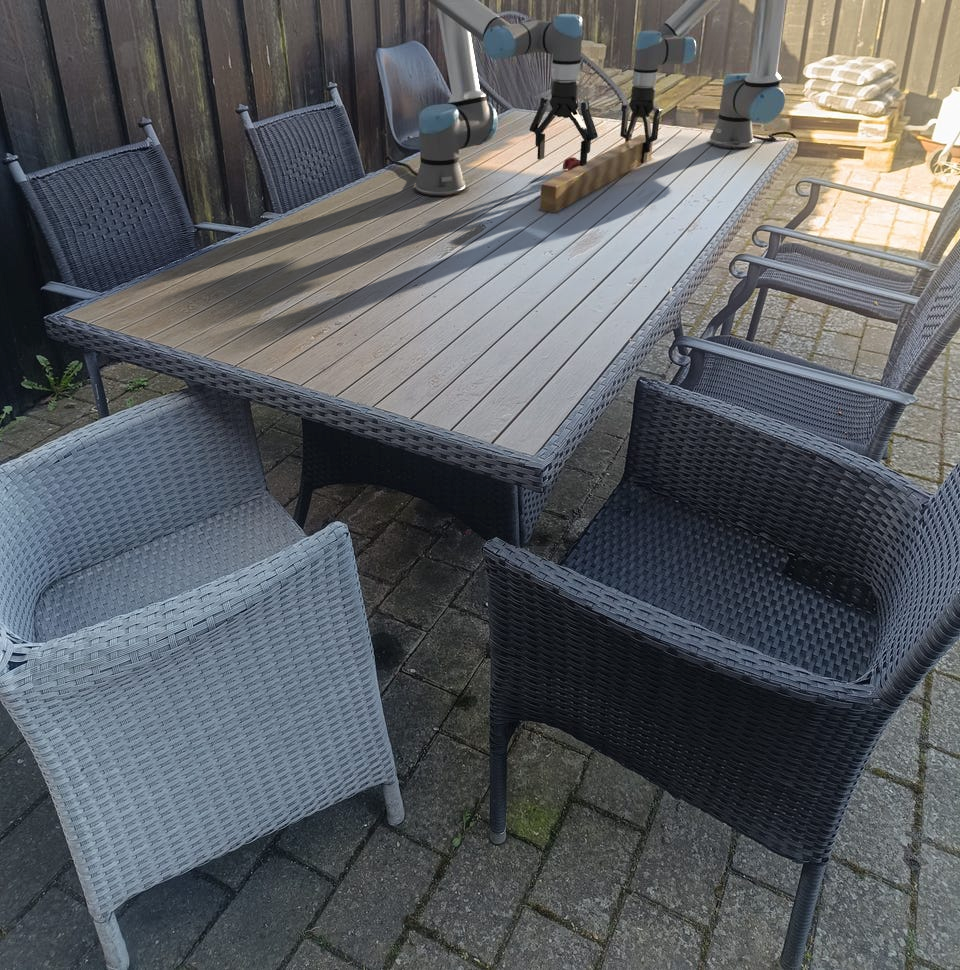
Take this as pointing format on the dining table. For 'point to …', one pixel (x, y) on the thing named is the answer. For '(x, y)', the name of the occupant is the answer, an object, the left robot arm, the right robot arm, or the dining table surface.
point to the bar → (592, 175)
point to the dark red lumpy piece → (571, 163)
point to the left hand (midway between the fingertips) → (561, 161)
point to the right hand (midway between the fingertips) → (636, 160)
